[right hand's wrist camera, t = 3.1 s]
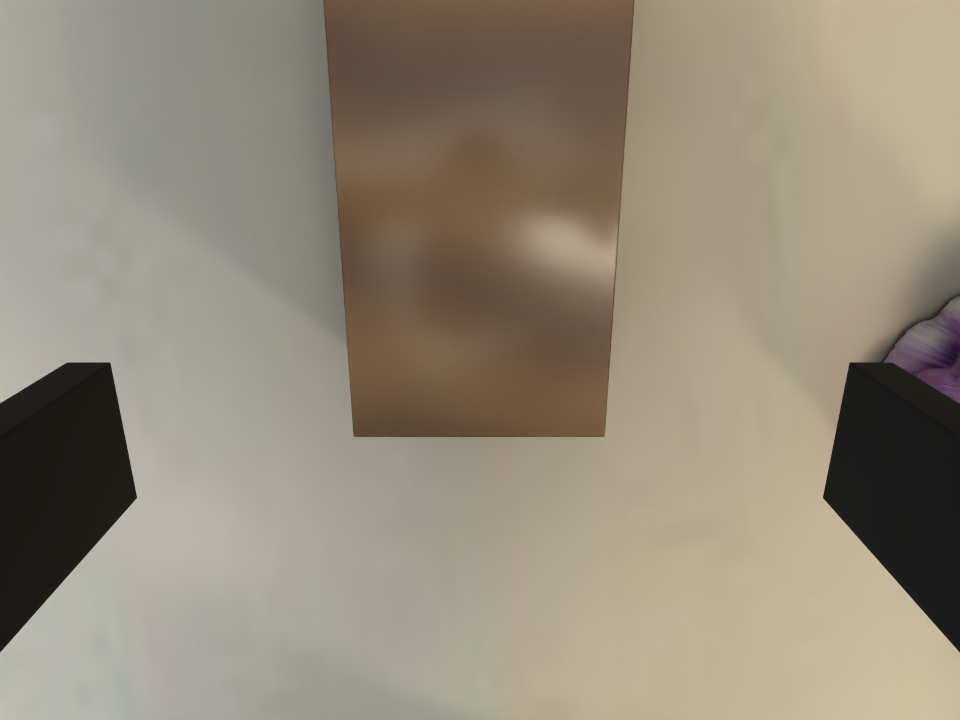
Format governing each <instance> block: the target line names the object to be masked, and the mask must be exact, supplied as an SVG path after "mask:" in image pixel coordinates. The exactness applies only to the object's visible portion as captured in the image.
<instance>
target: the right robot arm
mask: <svg viewBox="0 0 960 720" xmlns="http://www.w3.org/2000/svg"><path fill="white" fill-rule="evenodd" d="M136 498H137V495H136V490H135V485H134V480H133V475H132V470H131V465H130V460H129V455H128V450H127V445H126V440H125V435H124V429H123V424H122V419H121V414H120V409H119V404H118V399H117V394H116V389H115V384H114V379H113V374H112V369H111V364H110V363H66V364H64V365H62V366H61V367H59V368H58V369H56V370H54V371H53V372H51V373H49V374H48V375H46V376H44V377H43V378H41V379H40V380H38V381H36V382H35V383H33V384H31V385H30V386H28V387H26V388H25V389H23V390H22V391H20V392H18V393H17V394H15V395H13V396H12V397H10V398H8V399H7V400H5V401H4V402H2V403H0V652H1V651H2V650H3V649H4V647H5V646H6V645H7V644H8V643H9V642H10V641H11V640H12V638H13V637H14V636H15V635H16V634H17V633H18V632H19V630H20V629H21V628H22V627H23V626H24V625H25V624H26V623H27V621H28V620H29V619H30V618H31V617H32V616H33V615H34V614H35V612H36V611H37V610H38V609H39V608H40V607H41V606H42V605H43V603H44V602H45V601H46V600H47V599H48V598H49V597H50V595H51V594H52V593H53V592H54V591H55V590H56V589H57V588H58V586H59V585H60V584H61V583H62V582H63V581H64V580H65V579H66V577H67V576H68V575H69V574H70V573H71V572H72V571H73V569H74V568H75V567H76V566H77V565H78V564H79V563H80V562H81V560H82V559H83V558H84V557H85V556H86V555H87V554H88V553H89V551H90V550H91V549H92V548H93V547H94V546H95V545H96V544H97V542H98V541H99V540H100V539H101V538H102V537H103V536H104V534H105V533H106V532H107V531H108V530H109V529H110V528H111V527H112V525H113V524H114V523H115V522H116V521H117V520H118V519H119V518H120V516H121V515H122V514H123V513H124V512H125V511H126V510H127V509H128V507H129V506H130V505H131V504H132V503H133V502H134V501H135V499H136ZM823 498H824V499H825V501H826V502H827V503H828V504H829V505H830V506H831V507H832V509H833V510H834V511H835V512H836V513H837V514H838V515H839V516H840V518H841V519H842V520H843V521H844V522H845V523H846V524H847V525H848V527H849V528H850V529H851V530H852V531H853V532H854V533H855V534H856V536H857V537H858V538H859V539H860V540H861V541H862V542H863V544H864V545H865V546H866V547H867V548H868V549H869V550H870V551H871V553H872V554H873V555H874V556H875V557H876V558H877V559H878V560H879V562H880V563H881V564H882V565H883V566H884V567H885V568H886V569H887V571H888V572H889V573H890V574H891V575H892V576H893V577H894V579H895V580H896V581H897V582H898V583H899V584H900V585H901V586H902V588H903V589H904V590H905V591H906V592H907V593H908V594H909V595H910V597H911V598H912V599H913V600H914V601H915V602H916V603H917V605H918V606H919V607H920V608H921V609H922V610H923V611H924V612H925V614H926V615H927V616H928V617H929V618H930V619H931V620H932V621H933V623H934V624H935V625H936V626H937V627H938V628H939V629H940V630H941V632H942V633H943V634H944V635H945V636H946V637H947V638H948V640H949V641H950V642H951V643H952V644H953V645H954V646H955V647H956V649H957V650H958V651H959V652H960V403H958V402H956V401H955V400H953V399H952V398H950V397H948V396H947V395H945V394H943V393H942V392H940V391H938V390H937V389H935V388H934V387H932V386H930V385H929V384H927V383H925V382H924V381H922V380H920V379H919V378H917V377H916V376H914V375H912V374H911V373H909V372H907V371H906V370H904V369H902V368H901V367H899V366H898V365H896V364H894V363H850V364H849V369H848V374H847V379H846V384H845V389H844V394H843V399H842V404H841V409H840V414H839V419H838V424H837V429H836V435H835V440H834V445H833V450H832V455H831V460H830V465H829V470H828V475H827V480H826V485H825V490H824V495H823Z"/></svg>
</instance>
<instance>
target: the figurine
mask: <svg viewBox="0 0 960 720" xmlns="http://www.w3.org/2000/svg"><path fill="white" fill-rule="evenodd" d="M883 363H894V364H896V365H898V366H899V367H901V368H902V369H904V370H906V371H907V372H909V373H911V374H912V375H914V376H916V377H917V378H919V379H920V380H922V381H924V382H925V383H927V384H929V385H930V386H932V387H934V388H935V389H937V390H938V391H940V392H942V393H943V394H945V395H947V396H948V397H950V398H952V399H953V400H955V401H956V402H958V403H960V296H958V297H956V298H954V299H953V300H951V301H950V302H949V303H948V305H947V306H946V307H944V308H943V309H942V310H941V312H940V313H939V315H937V316H936V317H935V318H933V319H930V320H928V321H922V322H920V323H917V324H916V325H915V326H913V327H912V328H910V329H909V330H907V331H906V333H905V335H904V336H902V337H901V338H900V339H899V341H898V342H897V343H896V344H895V347H894V349H893V350H892V351H890V352H889V355H888V356H887V358H886V359H885V360H884V362H883Z"/></svg>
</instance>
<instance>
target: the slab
mask: <svg viewBox="0 0 960 720" xmlns="http://www.w3.org/2000/svg"><path fill="white" fill-rule="evenodd" d="M633 13H634V0H324V15H325V29H326V44H327V58H328V73H329V87H330V101H331V116H332V130H333V145H334V159H335V174H336V188H337V203H338V217H339V232H340V246H341V261H342V275H343V290H344V304H345V319H346V333H347V348H348V362H349V377H350V391H351V406H352V420H353V435H354V437H604V436H605V424H606V409H607V394H608V380H609V365H610V350H611V336H612V321H613V306H614V291H615V277H616V262H617V247H618V233H619V218H620V203H621V189H622V174H623V159H624V145H625V130H626V115H627V101H628V86H629V71H630V57H631V42H632V27H633Z"/></svg>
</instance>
